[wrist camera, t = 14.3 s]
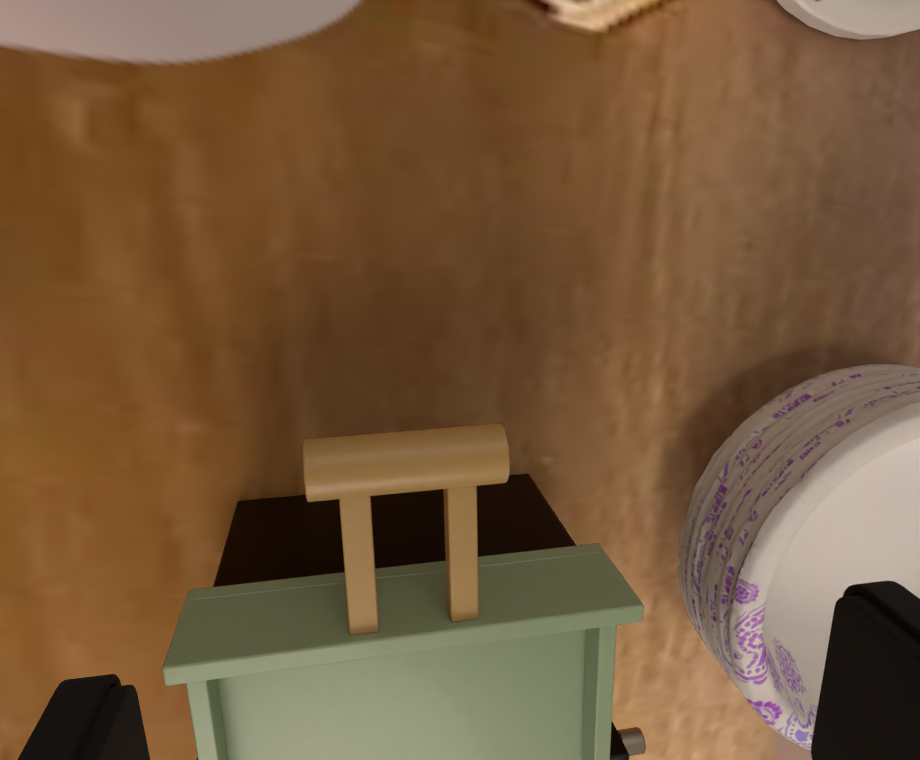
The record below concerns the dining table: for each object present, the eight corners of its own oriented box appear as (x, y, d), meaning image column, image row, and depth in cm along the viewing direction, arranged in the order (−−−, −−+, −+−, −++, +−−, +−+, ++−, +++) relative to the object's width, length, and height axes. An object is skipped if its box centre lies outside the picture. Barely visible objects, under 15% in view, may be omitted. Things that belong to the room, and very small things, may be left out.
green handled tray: (605, 383, 22) (658, 422, 18) (590, 748, 26) (631, 837, 22) (162, 416, 20) (125, 468, 16) (222, 809, 24) (202, 918, 20)
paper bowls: (578, 549, 31) (656, 668, 24) (801, 275, 29) (964, 309, 22) (792, 688, 36) (915, 824, 28) (997, 459, 34) (1186, 539, 26)
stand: (586, 467, 30) (667, 559, 23) (581, 640, 32) (652, 772, 25) (168, 507, 27) (110, 626, 20) (197, 693, 30) (154, 858, 22)
